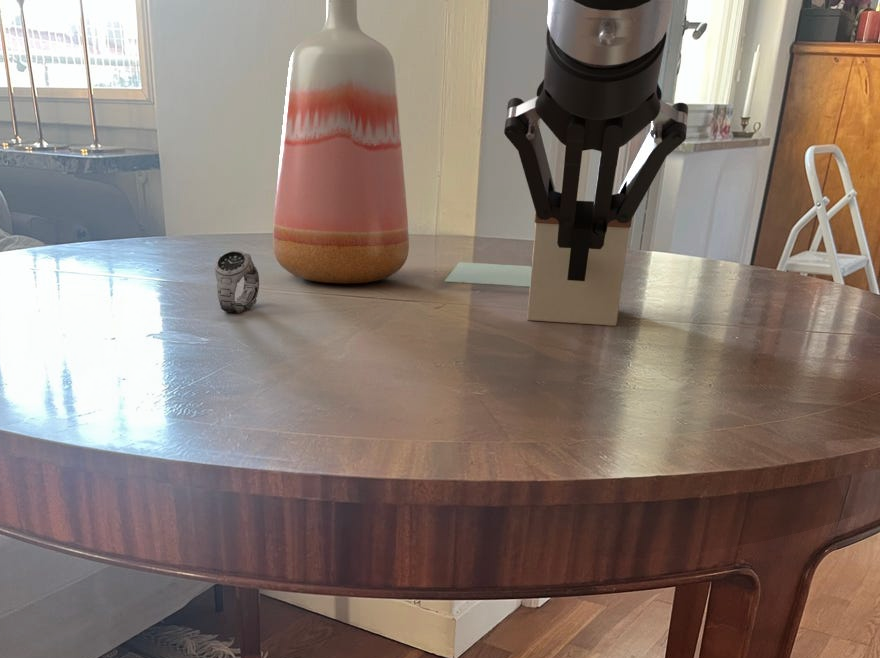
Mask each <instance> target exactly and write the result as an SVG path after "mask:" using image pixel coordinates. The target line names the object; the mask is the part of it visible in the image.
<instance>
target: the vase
mask: <svg viewBox="0 0 880 658" xmlns="http://www.w3.org/2000/svg"><path fill="white" fill-rule="evenodd" d="M357 3H358V0H326V18H325V23H324V26H323V28H322V29H321V30H320V31H319V32H317V33H315V34H313V35H311V36H310V37H307V38H305V39H304V40H302V41H301V42H300V43H298V44H297V45H296V46H295V47H294V49H293V51H292V54H291V56H290V61H289V67H288V74H287V84H286V86H287V87H286V95H285V104H284V114H283V125H282V131H281V132H282V134H281V141H280V142H281V143H280V153H279V162H278V173H277V181H276V182H277V183H276V192H275V193H276V194H275V202H274V211H273V221H272V224H273V226H272V249H273V254H274V257H275V260H276V261H277V262H278V264H279V265H280V267H282V268H283V269H284V270H285V271H286V272H288V273H290V274H291V275H293V276H295V277H297V278H300V279H303V280H306V281H311V282H316V283H323V284H324V283H326V284H343V285H345V284H346V285H347V284H348V285H349V284H350V285H351V284H366V283H373V282H379V281H383V280H385V279H387V278H389V277H391V276H393V275H395V274H396V273H397V272H399V271H400V270H401V269H402V268H403V266H404V265H405V264H406V262H407V259H408V256H409V249H410V237H409V236H410V235H409V218H408V205H407V193H406V181H405V172H404V171H405V169H404V160H403V148H402V136H401V124H400V113H399V112H400V111H399V103H398V90H397V89H398V88H397V77H396V69H395V62H394V59H393V56H392V53H391V52H390V50H389V48H387V47H386V46H385V45H383V44H382V43H380V41H377V40H376V39H375V38H372V37H371V36H369V35H367V34H366V33H365V32H363V30H362V29H361V27H360V24H359V21H358V7H357V6H358V4H357Z"/></svg>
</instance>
